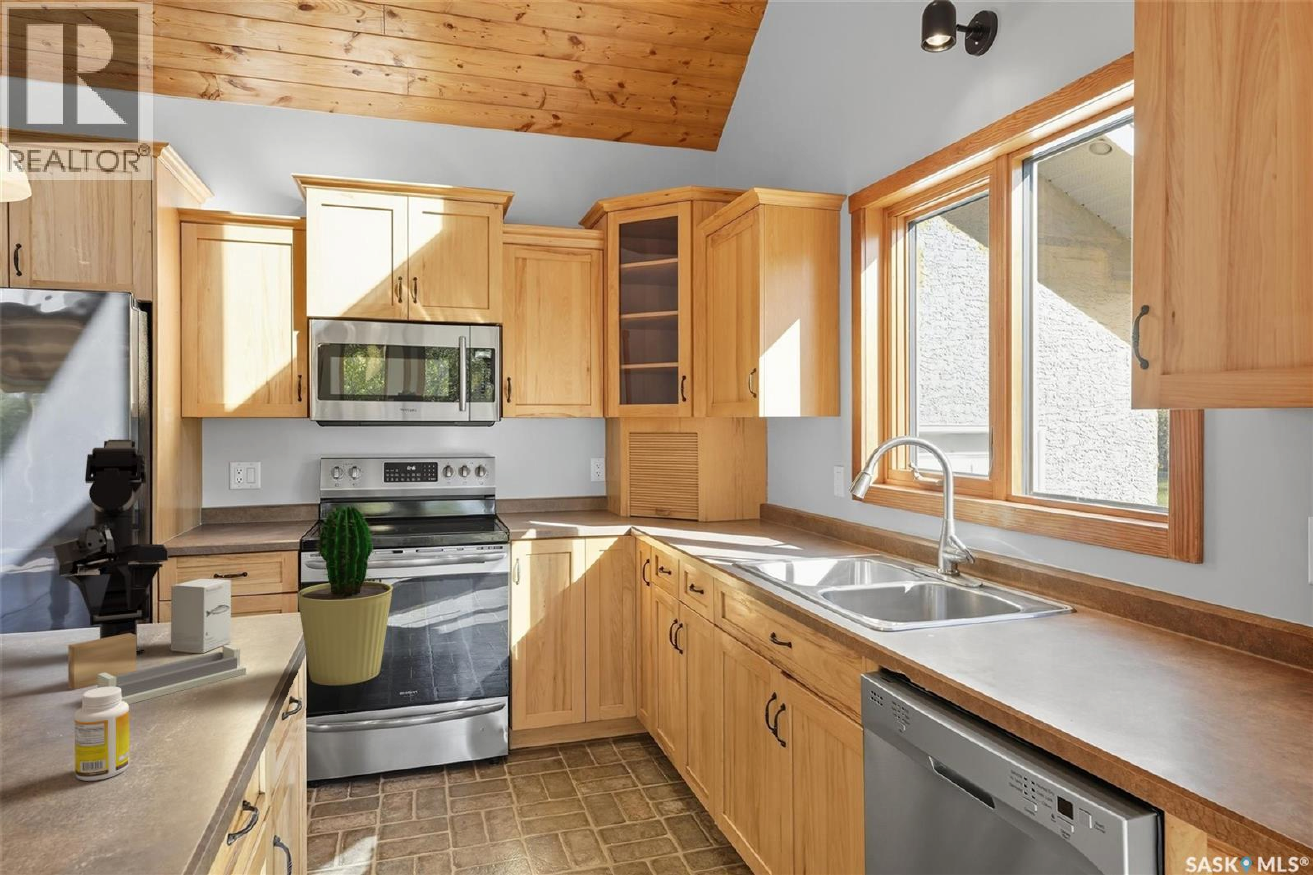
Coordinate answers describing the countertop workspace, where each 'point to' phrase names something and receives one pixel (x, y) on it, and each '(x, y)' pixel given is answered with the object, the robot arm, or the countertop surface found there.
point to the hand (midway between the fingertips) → (113, 612)
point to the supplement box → (200, 615)
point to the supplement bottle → (101, 734)
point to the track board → (175, 675)
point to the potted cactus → (345, 605)
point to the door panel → (100, 659)
